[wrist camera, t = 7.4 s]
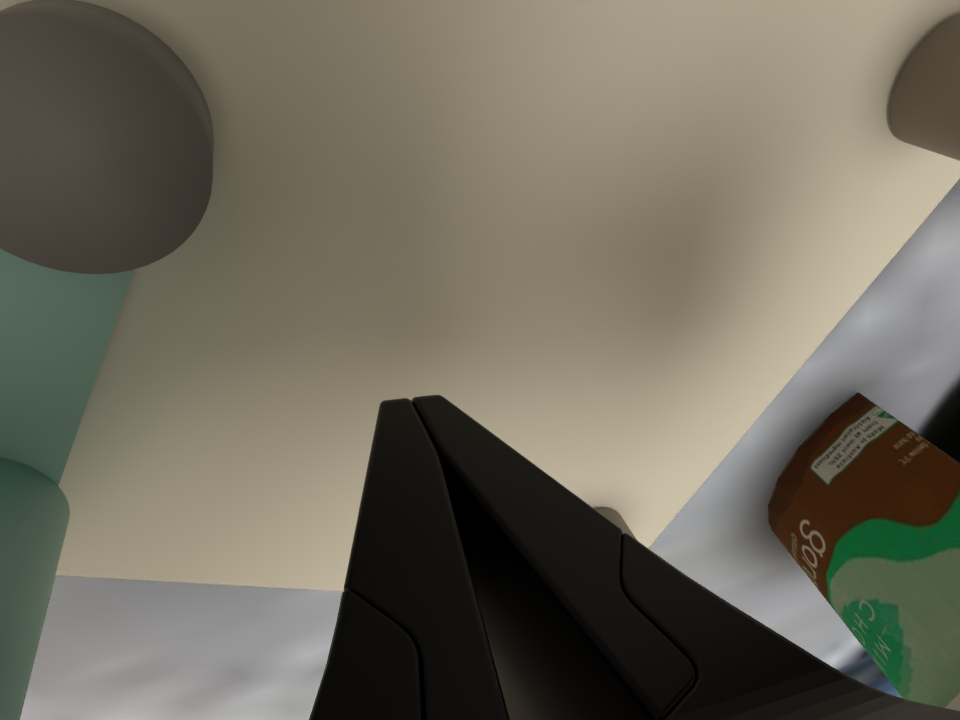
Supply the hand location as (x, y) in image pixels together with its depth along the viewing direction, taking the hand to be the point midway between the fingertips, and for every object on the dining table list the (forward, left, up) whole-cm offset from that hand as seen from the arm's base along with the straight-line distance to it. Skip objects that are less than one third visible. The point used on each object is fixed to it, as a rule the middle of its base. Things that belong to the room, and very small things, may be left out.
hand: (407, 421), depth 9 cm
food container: (+3, +21, -5) cm, 22 cm away
